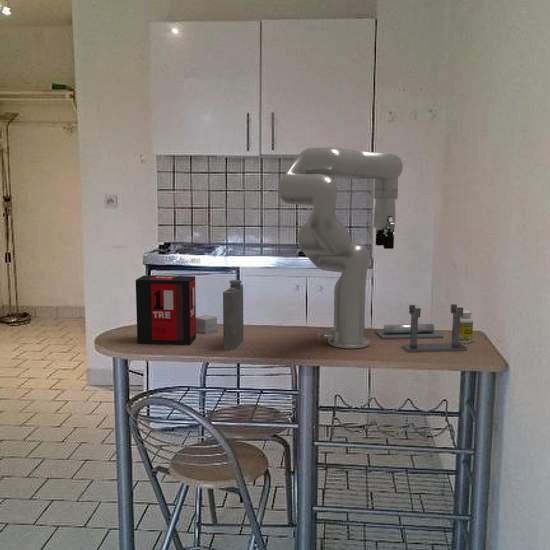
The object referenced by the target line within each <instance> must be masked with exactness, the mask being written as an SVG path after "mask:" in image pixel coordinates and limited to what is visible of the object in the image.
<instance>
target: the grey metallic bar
mask: <svg viewBox="0 0 550 550" xmlns="http://www.w3.org/2000/svg"><path fill="white" fill-rule="evenodd" d="M434 330H435V326H434V324H433V323H418V332H417V333H433V332H434ZM383 331H384V333H385V334H410V333H411V323H410V324H409V323H408V324H384V325H383Z"/></svg>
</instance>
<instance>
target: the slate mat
mask: <svg viewBox="0 0 550 550" xmlns="http://www.w3.org/2000/svg"><path fill="white" fill-rule="evenodd" d="M374 333H375V334H376V335H377V336H378V337H379V338H380V339H382V340H406V339H407V340H409V339H410V334H411V333H410V334H385V333H384V330H374ZM443 338H444V335H442V334H441V333H439V332H438V331H436V330H435V329H434V332H433V333H417V339H443Z"/></svg>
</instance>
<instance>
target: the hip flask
mask: <svg viewBox="0 0 550 550" xmlns="http://www.w3.org/2000/svg"><path fill="white" fill-rule="evenodd" d="M229 284H230V286H229V288H228V289H226V290H225V291H223V292H222V316H223V317H222V318H223V319H222V320H223V322H222V324H223V325H222V326H223V327H222V328H223V329H222V333H223V334H222V336H223V339H222V340H223V349H224V350H223V351H225V350H228V351H227V352H231V351H230V350H233V351H235V350H236V349H238V348H239V347H240V346H241V345H242V344H243V342H244V284H242V280H240V279H231V280H229ZM241 343H242V344H241ZM238 346H239V347H238ZM237 347H238V348H237ZM234 349H235V350H234Z"/></svg>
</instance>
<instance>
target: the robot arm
mask: <svg viewBox="0 0 550 550" xmlns="http://www.w3.org/2000/svg"><path fill="white" fill-rule="evenodd" d="M403 166H404V165H403V161H402V159H401V158H400V157H399V156H398V155H397V154H395V153H386V152H376V151H375V152H374V151H367V150H359V149H357V150H356V149H347V148H341V147H332V146H331V147H308V148H305V149H304V150H302V151H301V152H300V153H299V154H298V155H297V156H296V157H295V159H294V160H293V161H292V162H291V164H290V166H289V167H288V169H287V170H286V171H285V173H284V174H283V176H282V177H281V180H280V181H279V185H278V195H279V197H280V199H281V200H282V201H283V202H284V203H286V204H289V205H300V206H301V205H302V206H312V207H313V208H312V211H311V212H310V214H309V216H308V218H307V222H305V223H304V224H303V225H302V226H300V228H299V231H298V234H297V240H298V241H297V242H298V246H299V248H300V250H301V252H302V253H303V254H304V255H305V256H306V258H308V259H309V262H311V264H313V265H314V266H315V267H316V268H318V269H319V270H322V271H325V272H335V273H341V275H340V276H339V278H338V279H337V281H336V282H335V285H334V289H333V327H330V329H329V330H327V331H325V330H320V331H318V333H317V336H318V338H323V339H328V340H327V341H328V344H329V345H330V346H332V347H334V348H339V349H349V350H351V349H353V350H354V349H362V348H365V347H368V346H369V345H370V340H369V339H368V338H366V337H365V327H366V325H365V323H366V322H365V321H366V319H365V318H366V289H367V288H366V286H367V274H368V270H369V264H370V260H371V259H370V258H371V256H370V255H371V254H370V250H369V248H368V247H367V246H366V245H364V244H363V243H360V242H357V241H356V242H355V241H352V236H351V234H350V232H349V230H347V228H346V227H345V226H344V224H343V223H342V222H341V220H340V219H339V218H338V216H337V215H336V206H337V205H336V204H337V198H338V196H337V195H338V187H337V183H336V181H335V180H334V179H345V180H346V179H348V180H374V190H373V191H374V192H373V193H374V194H373V199H374V200H375V204H374V209H373V210H374V212H373V226H372V227H373V228H374V229H376V230H375V246H377V247H378V246H379V247H380V246H383V249H385V250H393V249H395V248H394V246H395V244H394V243H395V228H396V200H398V196H399V191H398V190H399V177H400V176H401V174H402V172H403Z"/></svg>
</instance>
